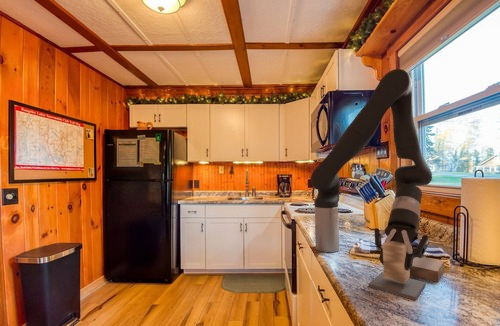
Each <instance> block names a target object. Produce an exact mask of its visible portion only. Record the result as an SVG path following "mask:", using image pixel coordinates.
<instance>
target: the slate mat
mask: <svg viewBox="0 0 500 326" xmlns="http://www.w3.org/2000/svg"><path fill="white" fill-rule="evenodd" d="M426 285H427V284H426V282H424V281H421V280H417V279H412V278H409V279H408V280H407V281H406V282H405V283H403V282H399V281H395V280H391V279H387V278H384V271H381V272H380V273H379V274H378V275H377V276H375V278H373V279H372V280H371V281H370V282H369V283H368V288H372V289H375V290H379V291H382V292H386V293H389V294H393V295H394V296H395V295H396V296H399V297H403V298H407V299H410V300H413V301H417V300H418V298H419V297H420V295H421V293H422V292H423V290H424V289H425V287H426Z"/></svg>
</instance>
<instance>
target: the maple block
mask: <svg viewBox="0 0 500 326" xmlns="http://www.w3.org/2000/svg"><path fill="white" fill-rule="evenodd" d="M384 242H385V241H384ZM384 242H383V243H384ZM382 245H383V265H382V266H383V272H384V278H387V279H391V280H395V281H399V282H403V283H405V282H406V281H407V280H408V279H411V278H410V277H411V276H410V269H409V271H407V270H405V268H404V263H405V258H406V254H407V244H405V243H401V242H394V241H390V242H388V241H387V242H385V243H384V244H382Z"/></svg>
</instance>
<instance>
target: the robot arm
mask: <svg viewBox="0 0 500 326" xmlns="http://www.w3.org/2000/svg"><path fill="white" fill-rule="evenodd" d="M413 86H414V84H413V79H412V77H411V76H410V74H409V73H408V72H407V71H406V70H404V69H402V68H395V69H392V70H390V71H388V72H387V73H385V74H384V75H383V77H382V78H381V79H380V81H379V82H378V84H377V86H376V87H375V89H374V90H373V92H372V94H371V96H370V98H369V99H368V100H367V102H366V103H365V105H364V106H363V107H362V108H361V110H360V111H359V112H358V113H357V115H356V116H355V117H354V119H353V120H352V121H351V122H350V124H349V125H348V126H347V127H346V129H345V131H344V132H343V133H342V134H341V136H340V138H339V139H338V140H337V142H336V143H335V145H334V146H333V148H332V149H330V151H329V153H328V154H327V156H326V157H325V158H324V159H323V160H322V161H321V162H320V163H319V165H317V167H316V168H315V169H314V170H313V172H312V173H311V176H310V184H311V186H312V187H313V188H314V190H317V196H316V197H315V200H314V228H315V230H314V231H315V232H314V233H315V234H314V235H315V236H314V237H315V238H314V239H315V251H319V252H324V253H336V252H339V251H340V230H339V229H340V228H339V227H340V225H339V221H340V220H339V200H340V193H341V192H340V188H341V187H340V176H339V172H340V171H341V169H342V168H343V167H344V166H345V165H346V164H347V163H348V162H350V161H351V160H352V159H354V158H355V157H356V156H357V155H358V154H359V153H361V152H362V150H363V149H364V148H365V147H366V146H367V145H368V144H369V142H370V141H371V139H372V138H373V137H374V135H375V134H376V132H377V130H378V128H379V125H380V123H381V122H382V120H383V117H384V116H385V114H386V113H387V111H388V110H389V109H390V110H391V114H392V120H393V121H392V123H393V124H392V126H393V127H392V128H393V142H394V145H395V146H394V147H395V152H396V156H397V158H398V159H401V160H411V161H412V162H413V163H414V164H411V165H410V164H409V165H402V166H400V167H399V166H398V167H397V168H396V169H395V171H394V174H393V175H394V176H393V177H394V181H395V187H396V188H395V189H396V192H395V194H394V196H395V197H394V200H393V203H392V205H391V209H390V213H389V216H388V221H387V226H386V227H385V229H379V228H374V244H375V246H376V249H377V250H378V251H380V253H379V258H378V259H379V261H380V263H381V266H383V244H384V243H385V242H387V241H388V242H390V241H394V242H401V243H405V244H407V254H406V258H405V263H404V268H405V270H407V271H409V269H411V268H412V264H413V259H414V258H415V257H418V258H422V257H424V254H425V252H426V251H427V248H428V246H429V244H430V239H429V236H428V235H427V234H423V235H422V234H419V233H418V230H419V223H420V217H421V203H422V198H423V197H422V196H423V192H422V189H421V188H420V187H421V186H427V185H429V184H430V183H431V182H432V178H433V174H432V171H431V169H430V167H429V165H428V164H427V162H426V159H425V158H424V156H423V153H422V149H421V146H420V145H421V144H420V139H419V134H418V131H417V126H416V122H415V117H414V111H413ZM418 186H419V187H418ZM385 235H386V238H385V239H384V242H383V244H382V239H383V238H384V236H385ZM417 240H418V244H417V247H416V248H415V249H414V250H413V248H412V247H413V246H412V244H413V243H414V242H416V241H417Z"/></svg>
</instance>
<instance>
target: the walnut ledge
mask: <svg viewBox="0 0 500 326" xmlns="http://www.w3.org/2000/svg"><path fill="white" fill-rule="evenodd" d="M444 272H445V261H444V260H441V259H440V260H439V259H435V258H430V257H425V256H423V257H422V258H418V257H415V258H414V259H413V264H412V268H411V269H410V277H416V278H418V279H423V280H427V281H432V282H436V283H439V282H440V280H441V278H442V276H443V274H444Z"/></svg>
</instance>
